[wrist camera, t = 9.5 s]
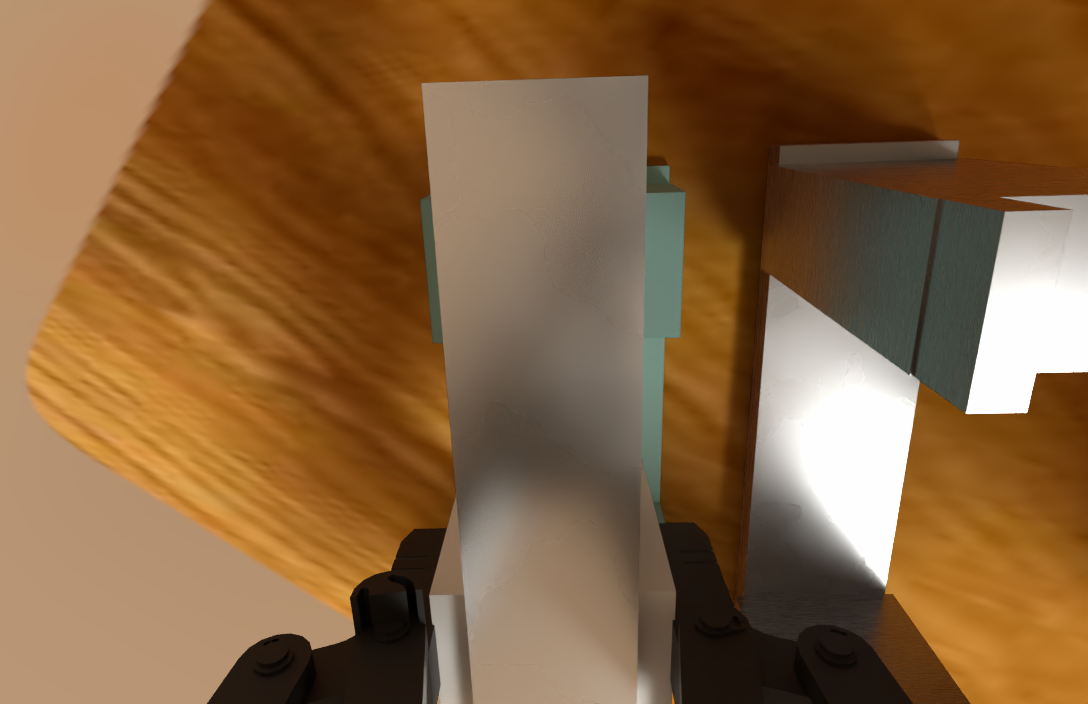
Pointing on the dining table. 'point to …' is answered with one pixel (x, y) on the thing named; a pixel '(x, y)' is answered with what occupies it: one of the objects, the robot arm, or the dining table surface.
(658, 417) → the rest
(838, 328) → the stand
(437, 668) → the robot arm
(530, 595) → the rail
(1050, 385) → the dining table surface
